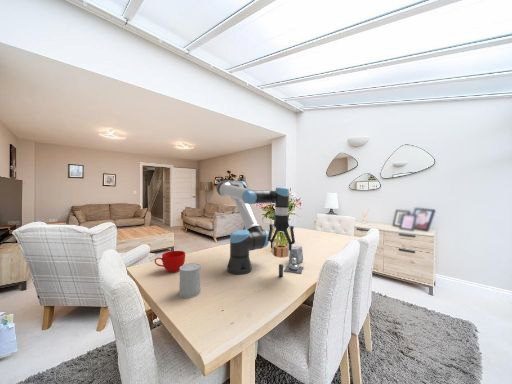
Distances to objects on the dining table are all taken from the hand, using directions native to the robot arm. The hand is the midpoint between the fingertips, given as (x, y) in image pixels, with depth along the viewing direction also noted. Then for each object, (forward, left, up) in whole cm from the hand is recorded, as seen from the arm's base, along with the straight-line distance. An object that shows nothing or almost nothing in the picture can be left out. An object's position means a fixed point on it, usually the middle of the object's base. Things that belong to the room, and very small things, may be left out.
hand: (280, 254), depth 120 cm
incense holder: (+3, +27, -13) cm, 30 cm away
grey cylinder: (-35, -35, -13) cm, 51 cm away
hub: (+5, +13, -12) cm, 19 cm away
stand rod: (0, 0, -12) cm, 12 cm away
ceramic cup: (-63, -18, -13) cm, 66 cm away
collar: (0, 0, 0) cm, 0 cm away
